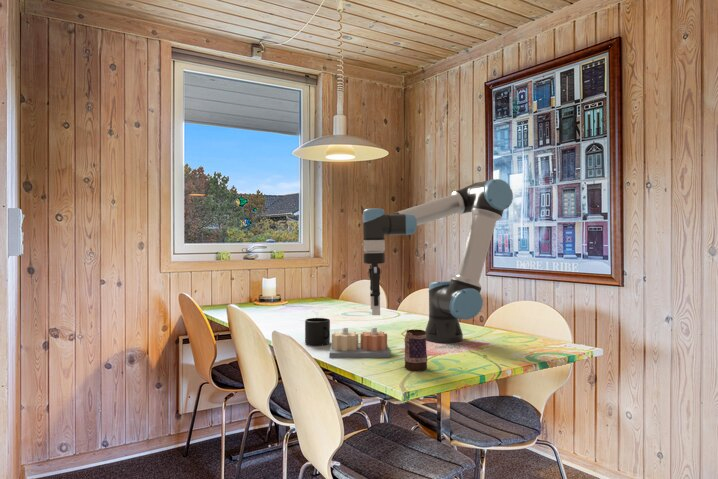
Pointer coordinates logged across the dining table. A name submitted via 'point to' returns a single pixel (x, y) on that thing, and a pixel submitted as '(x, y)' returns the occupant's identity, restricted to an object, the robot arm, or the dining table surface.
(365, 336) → the gear
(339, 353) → the gear board
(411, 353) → the mug
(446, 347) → the dining table surface
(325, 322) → the mug
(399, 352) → the dining table surface
